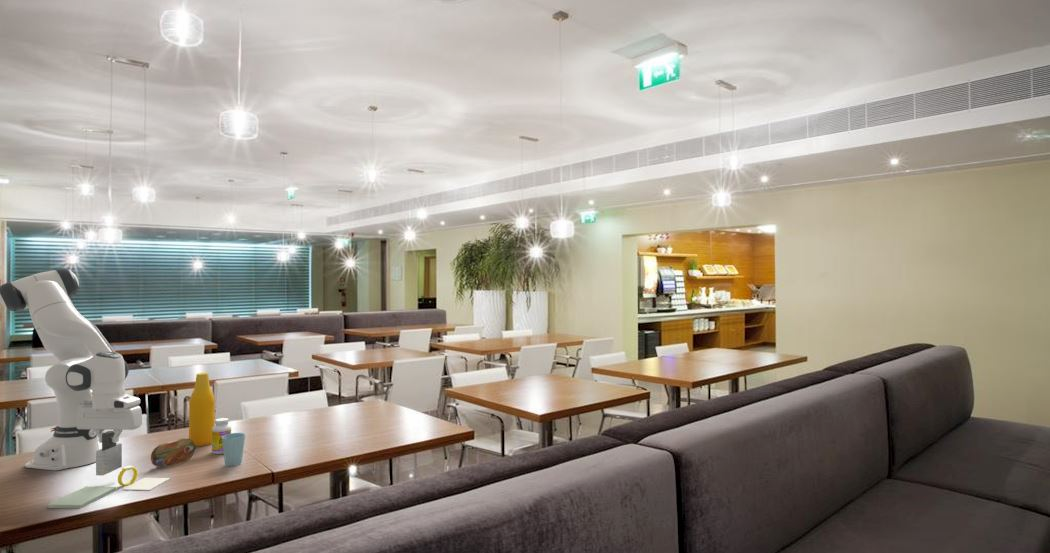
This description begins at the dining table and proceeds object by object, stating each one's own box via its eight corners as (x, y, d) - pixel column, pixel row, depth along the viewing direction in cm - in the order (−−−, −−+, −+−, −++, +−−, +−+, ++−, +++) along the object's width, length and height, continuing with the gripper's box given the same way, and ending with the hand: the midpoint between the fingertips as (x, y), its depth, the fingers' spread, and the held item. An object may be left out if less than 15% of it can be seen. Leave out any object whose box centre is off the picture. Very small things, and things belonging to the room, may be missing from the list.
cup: (216, 466, 200) (217, 438, 200) (230, 459, 207) (231, 432, 207) (235, 467, 199) (236, 439, 199) (249, 460, 206) (249, 433, 206)
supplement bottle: (217, 455, 212) (217, 422, 211) (208, 452, 215) (208, 419, 215) (234, 451, 217) (234, 418, 217) (225, 448, 221) (225, 416, 221)
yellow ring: (122, 488, 179) (121, 471, 179) (116, 487, 180) (115, 470, 179) (139, 480, 185) (138, 463, 185) (133, 480, 186) (132, 463, 185)
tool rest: (47, 507, 163) (47, 504, 163) (85, 489, 177) (85, 486, 177) (80, 508, 163) (80, 505, 163) (116, 490, 177) (116, 486, 177)
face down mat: (122, 490, 177) (122, 489, 177) (144, 478, 187) (144, 477, 187) (149, 490, 177) (149, 489, 177) (170, 479, 187) (170, 478, 187)
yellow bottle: (208, 438, 233) (208, 370, 233) (218, 442, 227) (219, 373, 227) (184, 443, 225) (185, 373, 225) (194, 448, 220) (195, 376, 220)
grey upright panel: (96, 475, 178) (95, 435, 178) (114, 466, 186) (114, 428, 186) (103, 475, 178) (103, 435, 178) (121, 466, 186) (121, 428, 186)
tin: (154, 470, 195) (154, 447, 195) (149, 469, 196) (149, 446, 196) (195, 458, 208) (195, 436, 208) (190, 457, 210) (190, 435, 210)
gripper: (70, 402, 179) (70, 444, 179) (131, 403, 179) (131, 445, 179) (86, 398, 186) (86, 439, 186) (145, 398, 185) (145, 439, 185)
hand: (109, 442), depth 182 cm, fingers closed on grey upright panel, 2 cm apart
